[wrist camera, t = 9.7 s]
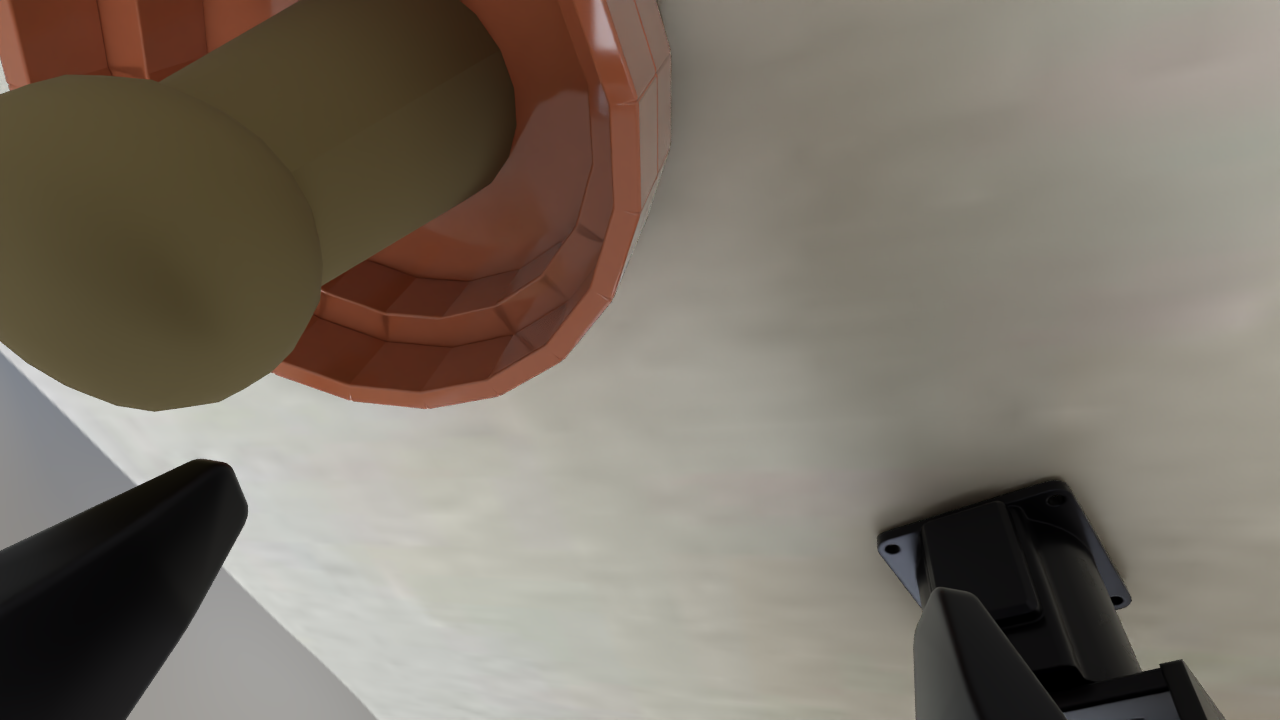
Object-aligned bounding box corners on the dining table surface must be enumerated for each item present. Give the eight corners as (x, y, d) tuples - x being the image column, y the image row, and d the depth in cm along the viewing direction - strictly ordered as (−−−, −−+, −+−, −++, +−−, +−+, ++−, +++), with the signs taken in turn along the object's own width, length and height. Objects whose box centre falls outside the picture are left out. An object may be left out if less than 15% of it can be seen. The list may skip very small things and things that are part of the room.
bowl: (781, 159, 18) (777, 241, 14) (432, 376, 25) (362, 474, 21) (383, -469, 13) (197, -621, 9) (75, 21, 19) (-112, 60, 15)
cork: (346, 209, 21) (12, 463, 12) (260, -19, 17) (-294, 99, 8) (537, 200, 19) (322, 477, 11) (485, -48, 16) (104, 53, 7)
